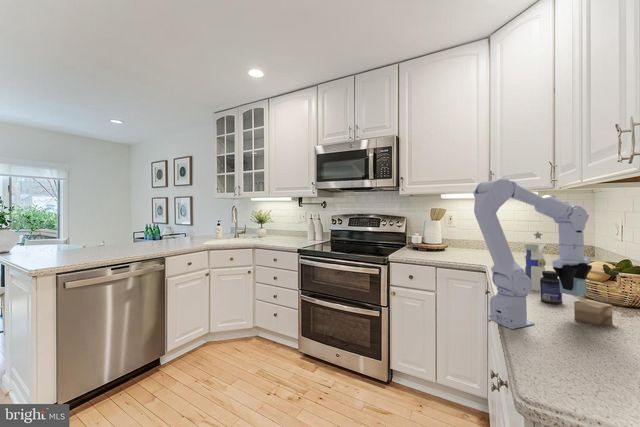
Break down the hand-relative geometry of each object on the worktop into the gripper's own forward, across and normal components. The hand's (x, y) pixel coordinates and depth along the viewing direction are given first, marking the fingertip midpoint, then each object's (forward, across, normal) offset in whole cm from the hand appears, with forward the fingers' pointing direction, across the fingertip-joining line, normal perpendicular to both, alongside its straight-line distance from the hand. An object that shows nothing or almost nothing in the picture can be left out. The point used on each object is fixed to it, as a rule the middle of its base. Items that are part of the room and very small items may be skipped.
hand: (573, 288), depth 86 cm
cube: (+2, 0, 0) cm, 2 cm away
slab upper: (+7, +2, -4) cm, 8 cm away
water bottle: (+10, +25, +27) cm, 38 cm away
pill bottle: (+10, +12, +14) cm, 20 cm away
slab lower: (+10, +2, -4) cm, 11 cm away
